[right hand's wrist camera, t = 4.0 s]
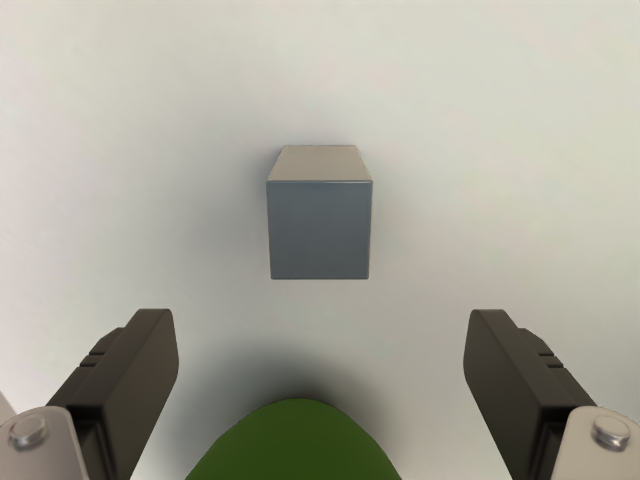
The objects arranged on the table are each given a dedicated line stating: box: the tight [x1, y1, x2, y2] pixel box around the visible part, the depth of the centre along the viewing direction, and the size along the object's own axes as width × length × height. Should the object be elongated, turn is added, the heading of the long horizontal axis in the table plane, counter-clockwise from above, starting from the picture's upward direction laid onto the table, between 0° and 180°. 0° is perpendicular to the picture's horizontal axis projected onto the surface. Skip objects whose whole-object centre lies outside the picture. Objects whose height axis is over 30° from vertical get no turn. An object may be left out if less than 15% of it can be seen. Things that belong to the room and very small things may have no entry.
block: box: [266, 146, 373, 279], centre depth 24 cm, size 5×5×10 cm
